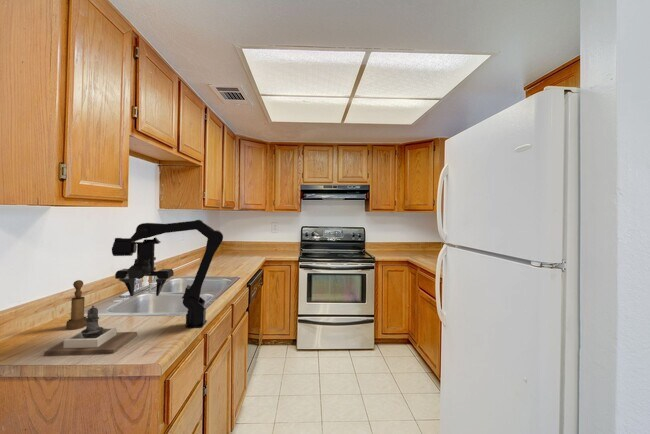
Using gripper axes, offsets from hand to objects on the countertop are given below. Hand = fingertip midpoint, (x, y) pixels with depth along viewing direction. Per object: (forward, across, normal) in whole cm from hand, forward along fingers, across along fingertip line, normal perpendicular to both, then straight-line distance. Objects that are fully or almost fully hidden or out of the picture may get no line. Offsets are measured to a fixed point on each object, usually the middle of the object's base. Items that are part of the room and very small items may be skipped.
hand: (144, 296), depth 110 cm
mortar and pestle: (+13, -27, +5) cm, 30 cm away
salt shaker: (+12, -11, -12) cm, 20 cm away
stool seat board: (+13, -10, -12) cm, 20 cm away
